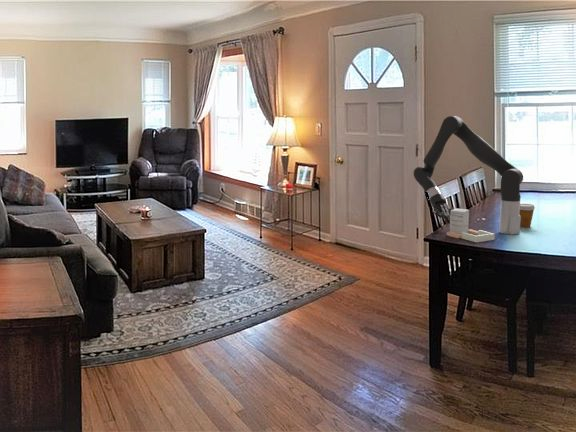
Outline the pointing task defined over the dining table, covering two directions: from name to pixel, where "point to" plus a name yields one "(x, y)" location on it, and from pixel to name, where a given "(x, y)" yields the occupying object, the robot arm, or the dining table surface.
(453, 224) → the supplement box
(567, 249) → the dining table surface
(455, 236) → the trap left
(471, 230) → the trap right
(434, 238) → the dining table surface
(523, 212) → the disposable coffee cup
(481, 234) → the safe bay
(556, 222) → the dining table surface
